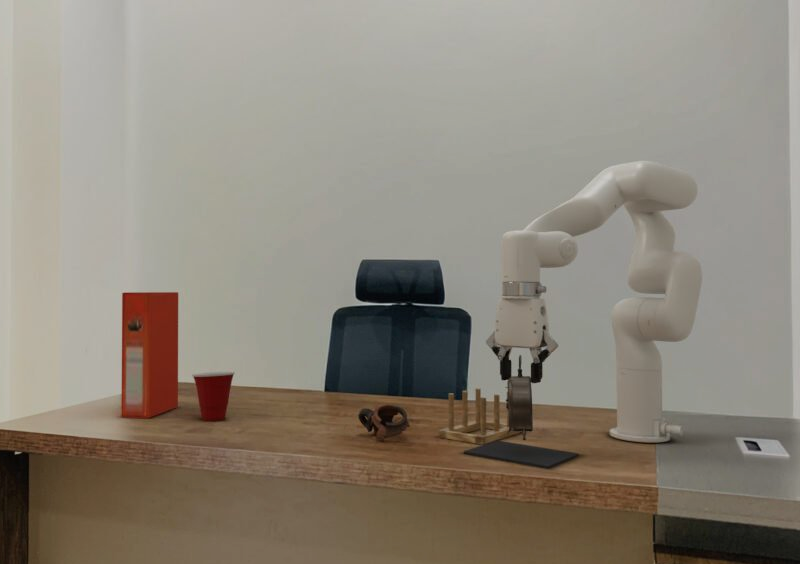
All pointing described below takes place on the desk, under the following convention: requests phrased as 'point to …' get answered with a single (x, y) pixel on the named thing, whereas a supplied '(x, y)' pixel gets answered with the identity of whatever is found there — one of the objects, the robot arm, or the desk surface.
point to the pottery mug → (384, 420)
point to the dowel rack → (480, 423)
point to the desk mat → (522, 454)
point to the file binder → (149, 353)
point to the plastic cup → (213, 394)
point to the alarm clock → (520, 402)
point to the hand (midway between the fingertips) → (520, 380)
